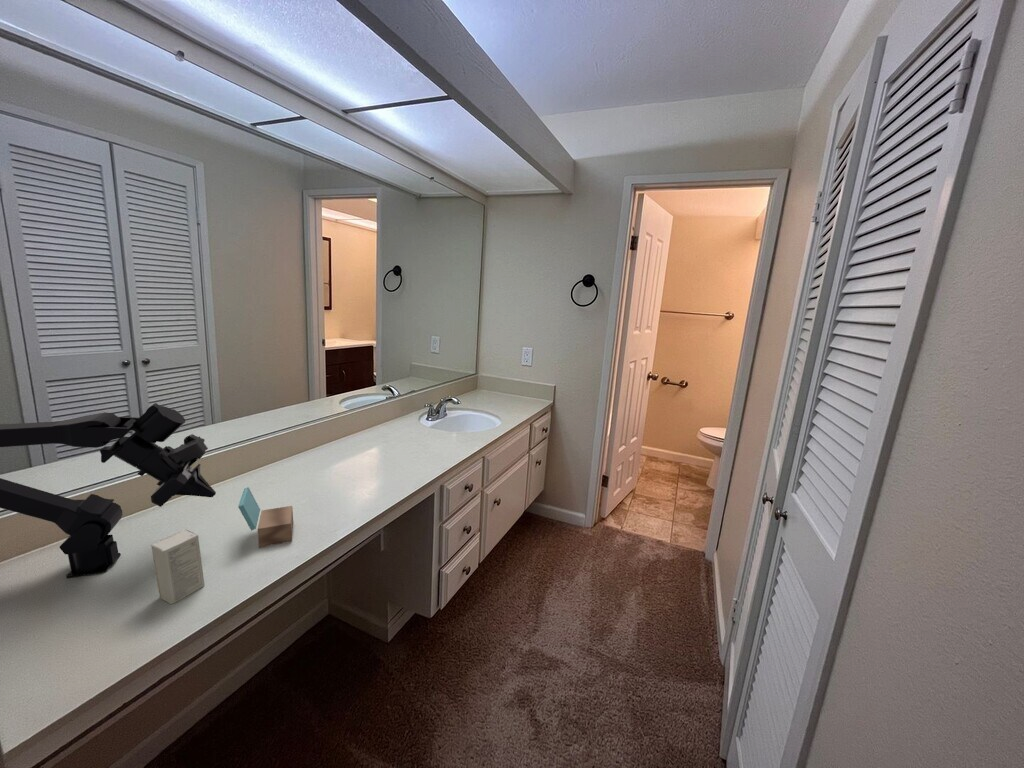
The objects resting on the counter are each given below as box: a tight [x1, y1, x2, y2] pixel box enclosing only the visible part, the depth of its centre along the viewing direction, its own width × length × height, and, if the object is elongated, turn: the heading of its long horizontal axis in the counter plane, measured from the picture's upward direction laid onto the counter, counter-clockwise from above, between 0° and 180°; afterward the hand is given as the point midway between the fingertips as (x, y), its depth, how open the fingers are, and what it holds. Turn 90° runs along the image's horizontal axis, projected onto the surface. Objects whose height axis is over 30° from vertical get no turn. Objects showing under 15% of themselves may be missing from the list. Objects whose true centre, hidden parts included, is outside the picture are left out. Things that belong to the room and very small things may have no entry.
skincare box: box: [150, 528, 205, 605], centre depth 81 cm, size 6×4×12 cm
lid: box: [237, 486, 261, 532], centre depth 99 cm, size 7×9×1 cm
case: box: [257, 505, 294, 548], centre depth 103 cm, size 7×9×5 cm
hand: (214, 495), depth 95 cm, fingers closed
